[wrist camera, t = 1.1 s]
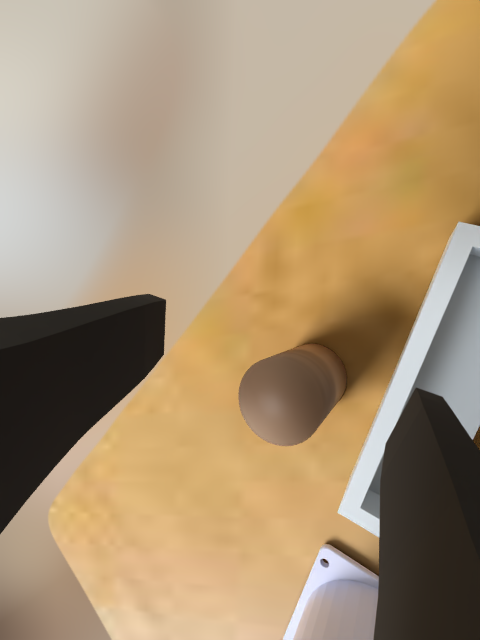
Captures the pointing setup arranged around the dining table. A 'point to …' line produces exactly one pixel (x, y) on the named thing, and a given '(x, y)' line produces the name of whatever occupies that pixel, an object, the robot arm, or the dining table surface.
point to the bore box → (428, 367)
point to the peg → (291, 393)
